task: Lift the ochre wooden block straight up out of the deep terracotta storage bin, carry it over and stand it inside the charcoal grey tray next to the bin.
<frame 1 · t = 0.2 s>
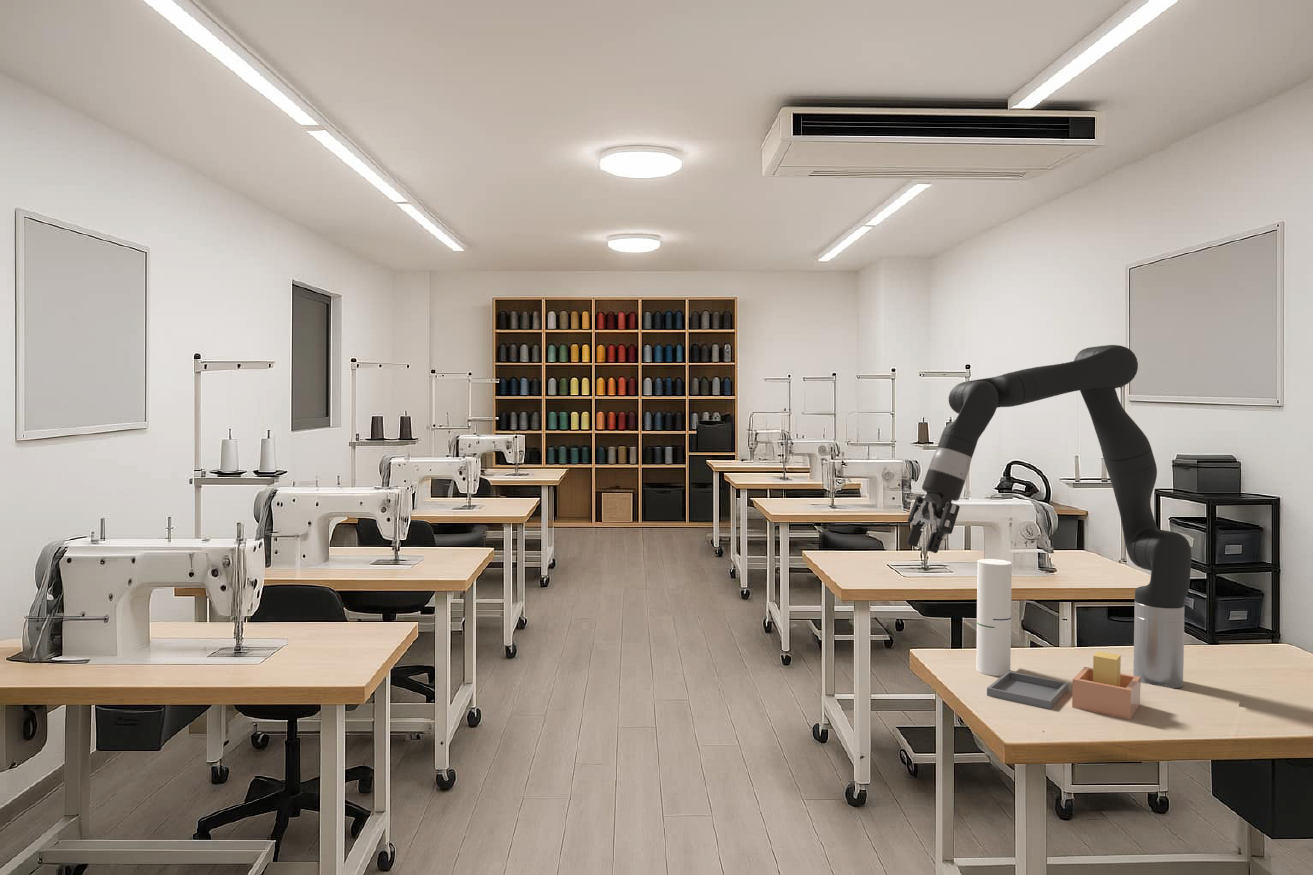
hand: (920, 548, 164), 31 cm above the table, tool tilted 20°, fingers open, 8 cm apart
ochre block: (1106, 705, 159), point 1 cm above the table, touching terracotta storage bin
terracotta storage bin: (1106, 710, 159), on the table
cylindrical container: (993, 671, 183), on the table
grey tray: (1027, 697, 166), on the table
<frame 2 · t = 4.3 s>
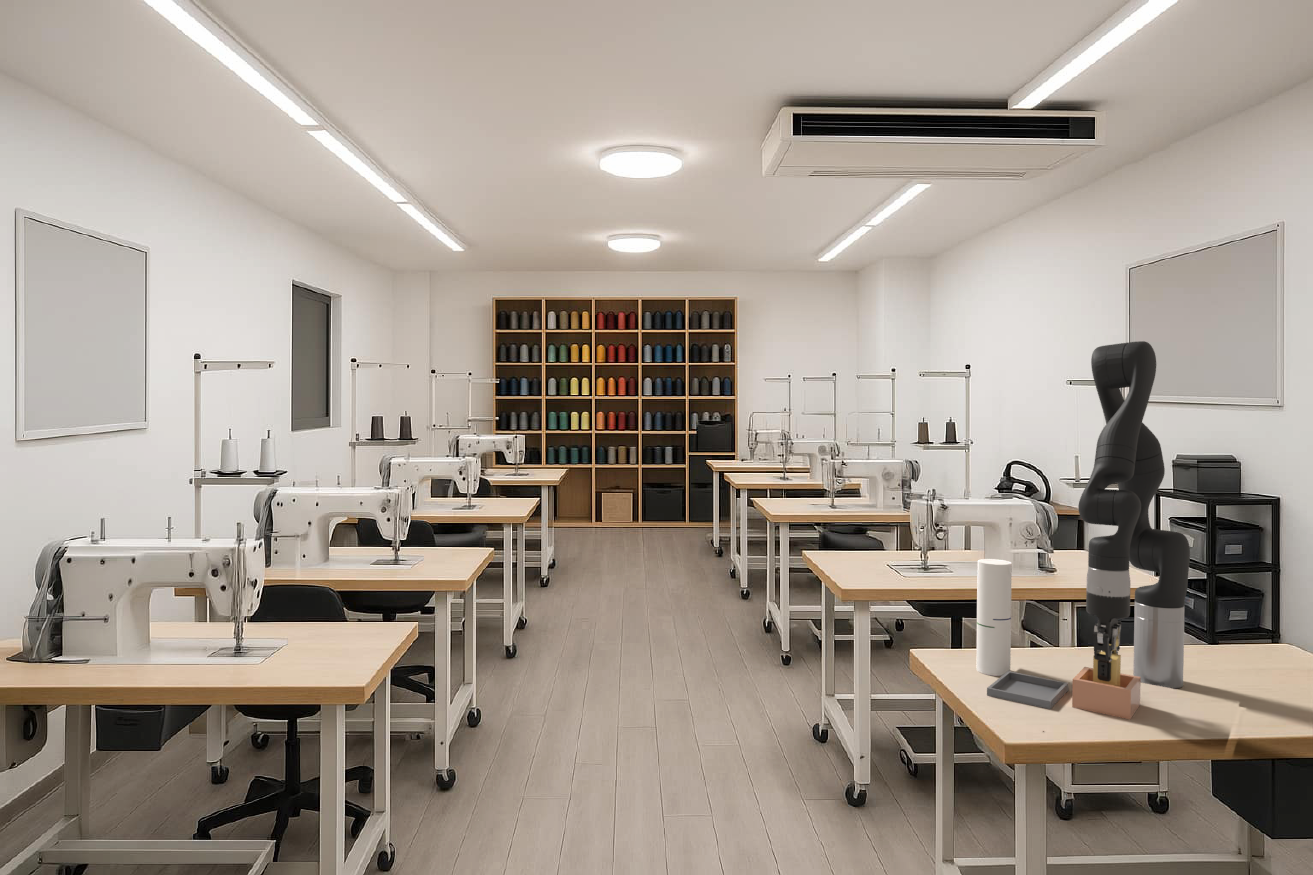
hand: (1106, 676, 159), 7 cm above the table, tool pointing down, fingers closed on ochre block, 4 cm apart
ochre block: (1106, 705, 159), point 1 cm above the table, touching gripper, terracotta storage bin
everything else where it was.
when the fingers open (8 cm above the table, at t = 10.1 s): ochre block drops 1 cm, resting on grey tray.
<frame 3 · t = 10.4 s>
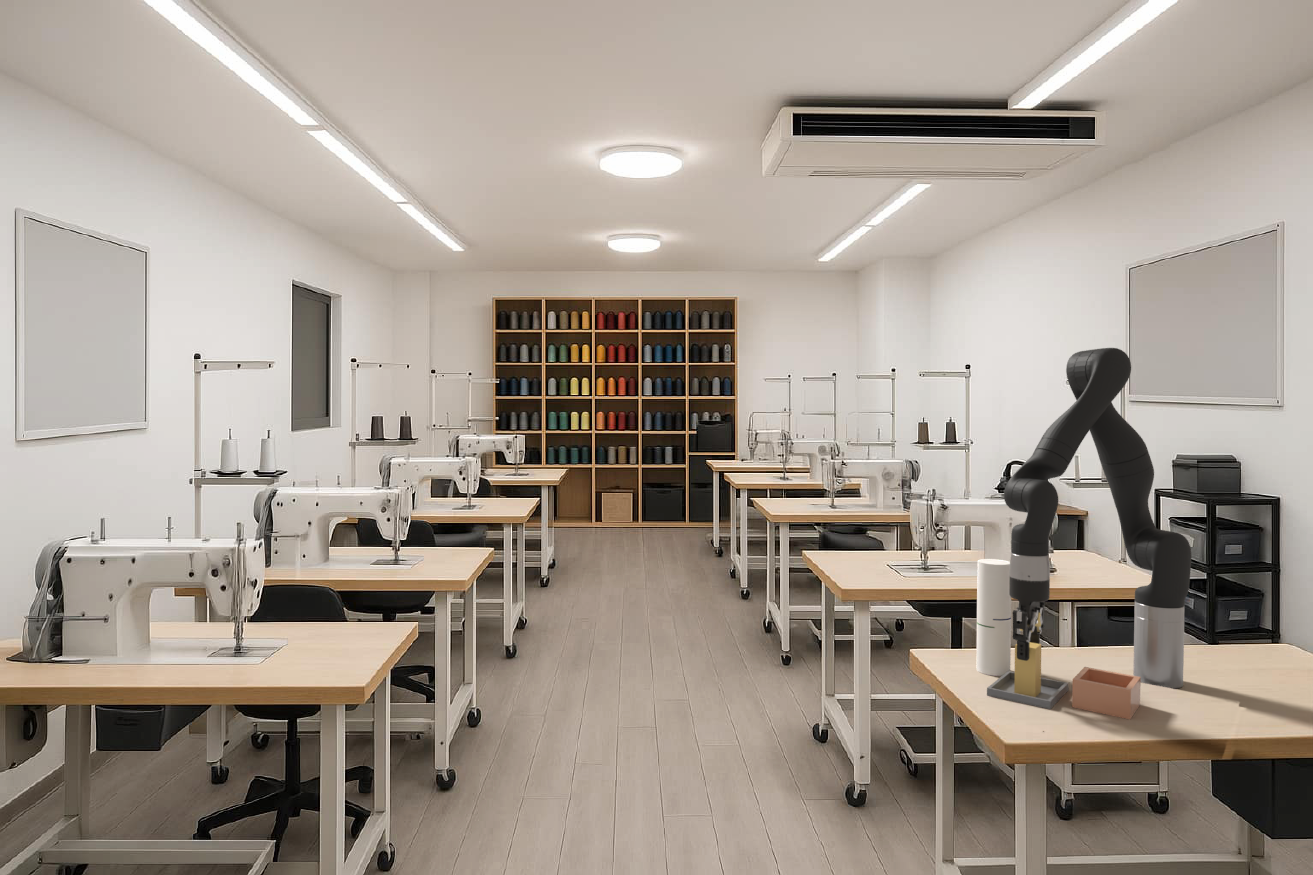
hand: (1028, 655, 166), 9 cm above the table, tool pointing down, fingers open, 7 cm apart
ochre block: (1027, 692, 166), point 1 cm above the table, touching grey tray
everything else where it was.
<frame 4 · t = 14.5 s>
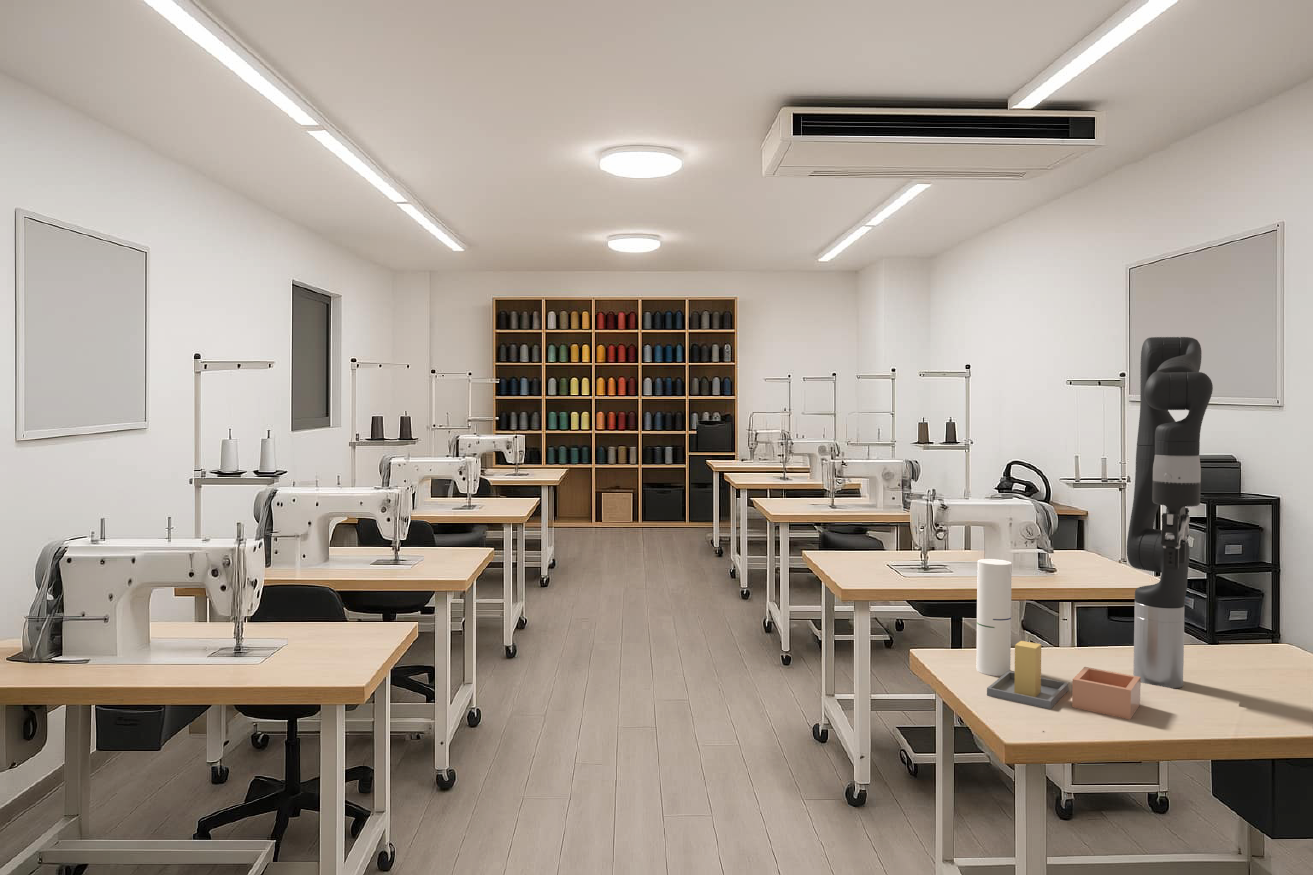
hand: (1174, 565, 151), 30 cm above the table, tool pointing down, fingers open, 8 cm apart
nothing on the table moved.
at the end: ochre block inside the target area on the grey tray (0.1 cm from its centre), point 1.0 cm above the grey tray's base; ochre block tilted 0°; the gripper is holding nothing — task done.
